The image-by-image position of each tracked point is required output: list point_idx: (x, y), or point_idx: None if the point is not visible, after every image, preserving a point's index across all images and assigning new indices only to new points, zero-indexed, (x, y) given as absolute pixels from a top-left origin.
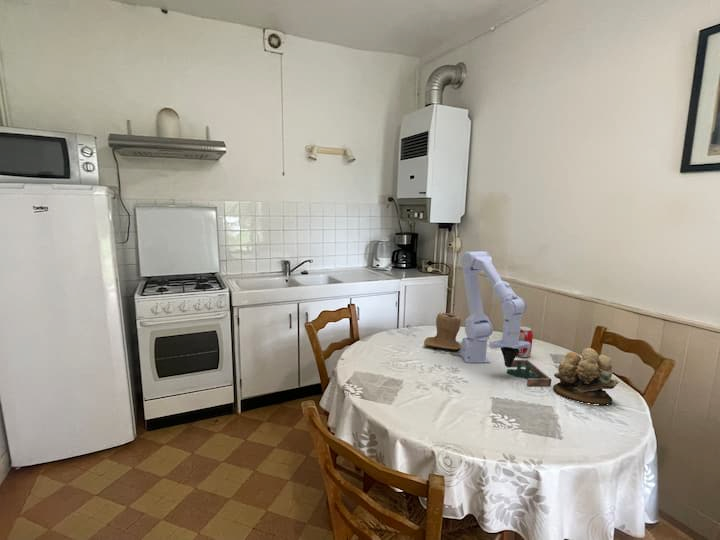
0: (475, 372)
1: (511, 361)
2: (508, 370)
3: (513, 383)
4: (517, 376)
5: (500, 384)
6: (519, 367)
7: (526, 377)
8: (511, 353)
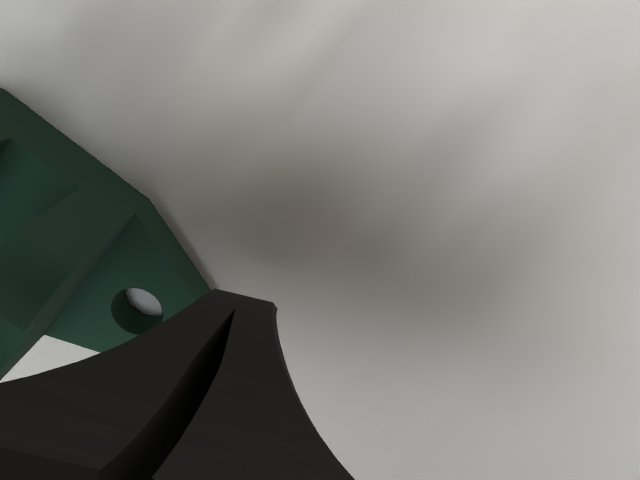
0: (629, 434)
1: (188, 334)
2: None
3: (338, 15)
4: (134, 193)
5: (571, 37)
6: (53, 235)
7: (26, 114)
8: (183, 457)
